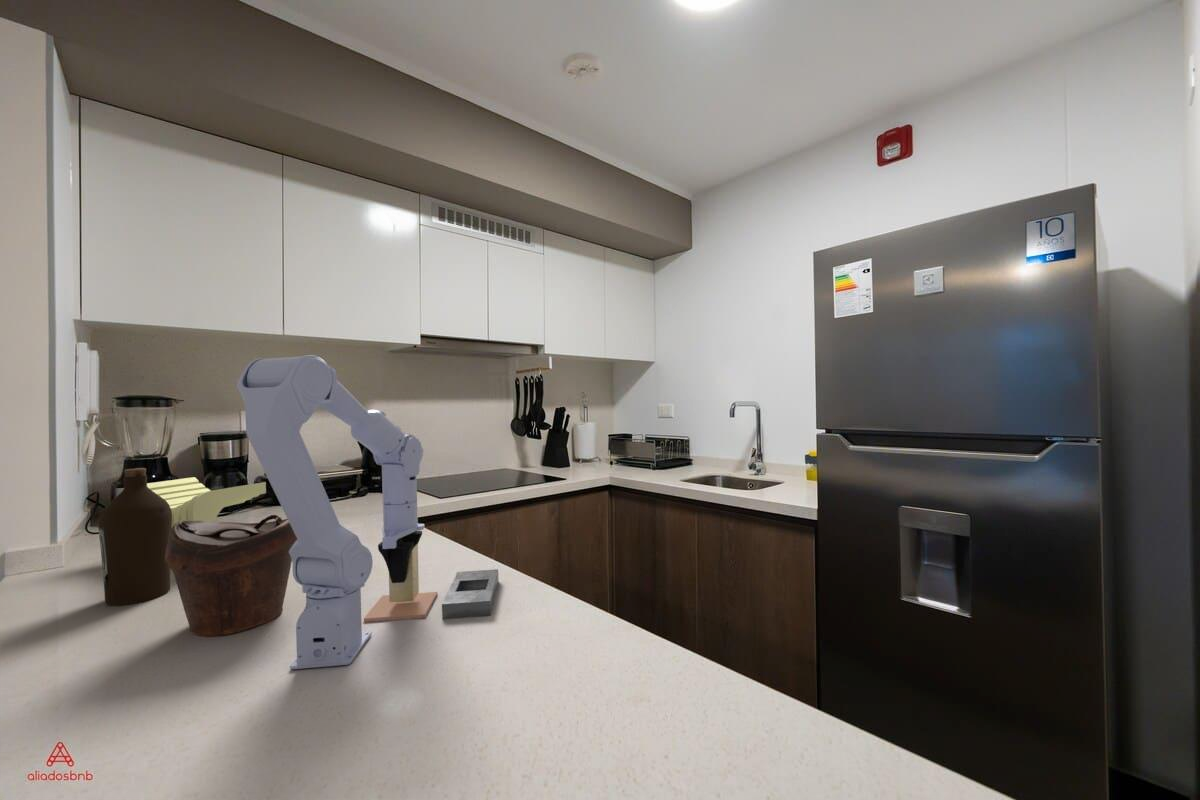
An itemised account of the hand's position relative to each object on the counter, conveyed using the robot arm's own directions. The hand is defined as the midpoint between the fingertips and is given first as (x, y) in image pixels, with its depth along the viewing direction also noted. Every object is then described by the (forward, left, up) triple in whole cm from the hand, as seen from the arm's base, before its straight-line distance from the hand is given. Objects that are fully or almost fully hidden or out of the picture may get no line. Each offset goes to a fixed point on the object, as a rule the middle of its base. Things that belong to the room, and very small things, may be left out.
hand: (402, 577), depth 90 cm
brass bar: (0, 0, -4) cm, 4 cm away
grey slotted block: (+2, -12, -5) cm, 13 cm away
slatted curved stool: (+42, +60, -6) cm, 74 cm away
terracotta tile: (0, 0, -5) cm, 5 cm away
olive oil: (+15, +54, -6) cm, 56 cm away
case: (0, +27, -6) cm, 28 cm away
